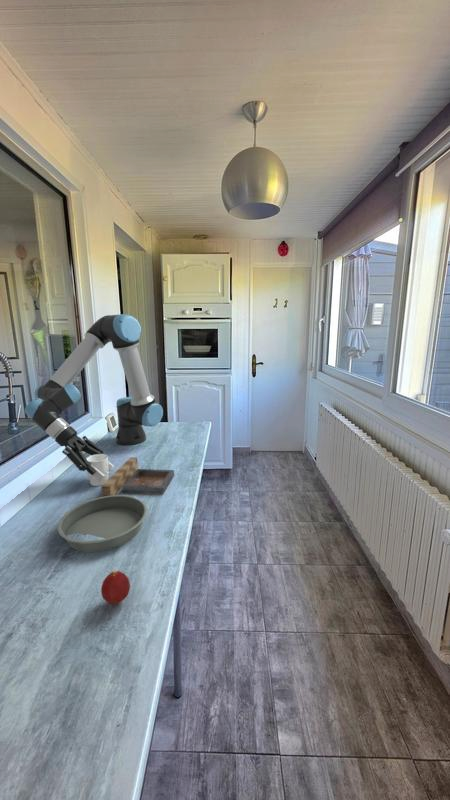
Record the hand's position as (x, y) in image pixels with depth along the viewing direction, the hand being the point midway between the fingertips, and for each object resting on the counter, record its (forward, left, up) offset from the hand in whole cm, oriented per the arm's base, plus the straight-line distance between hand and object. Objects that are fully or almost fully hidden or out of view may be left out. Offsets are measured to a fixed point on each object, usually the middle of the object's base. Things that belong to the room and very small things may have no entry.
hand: (107, 473), depth 128 cm
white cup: (0, -3, -4) cm, 5 cm away
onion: (+55, +28, -4) cm, 62 cm away
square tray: (0, +17, -4) cm, 17 cm away
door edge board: (0, +6, -4) cm, 7 cm away
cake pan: (+29, +13, -4) cm, 32 cm away
